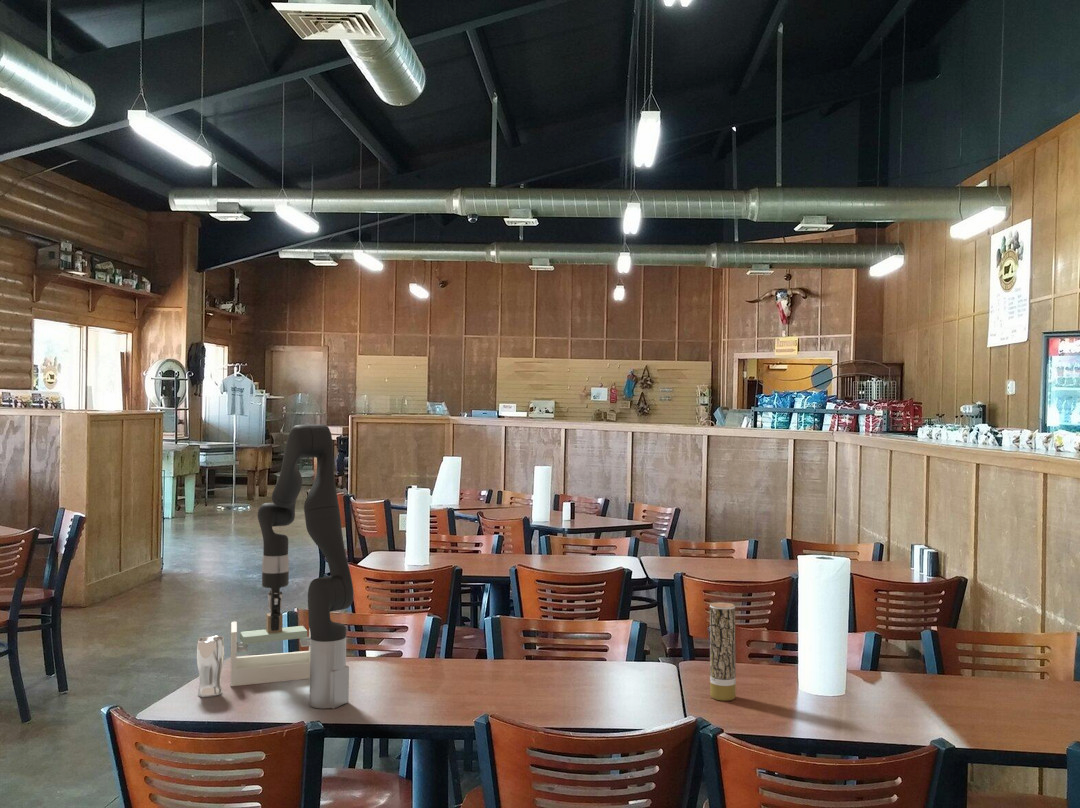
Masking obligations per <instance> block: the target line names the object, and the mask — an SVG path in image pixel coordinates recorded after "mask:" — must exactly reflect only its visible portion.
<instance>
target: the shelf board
mask: <svg viewBox="0 0 1080 808" xmlns="http://www.w3.org/2000/svg"><path fill="white" fill-rule="evenodd" d="M270 615H271V613H270V612H268V613H265V629H256V630H248V631H245V630H244V631H239V639H240V641H241V642H242V643H243V644H247V645H248V644H249V645H250V644H259V643H268V642H269V643H270V642H276V641H277V642H278V641H286V640H287V641H289V640H296V639H300V638H307V637H308V630H307V629H306V628H305V626H304V625H298V626H297V625H296V626H288V627H287V626H286V627H285V626H284V627H283V614H282V613H281V615H280V617H279V630H276V631H272V630H271V617H270Z"/></svg>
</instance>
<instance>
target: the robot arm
mask: <svg viewBox="0 0 1080 808" xmlns="http://www.w3.org/2000/svg"><path fill="white" fill-rule="evenodd" d="M332 436H333V435H332V432H331V429H330V428H329V426H328V425H326V424H323V423H322V424H319V423H317V424H316V423H315V424H314V423H313V424H309V423H308V424H297V425H294V426H292V427H291V429H290V431H289V434H288V436H287V439H286V443H285V448H284V453H283V456H282V457H283V458H282V463H281V469H280V472H279V475H278V479H277V481H276V483H275V486H274V488H273V491H272V493H271V501H272V502H265V503H262V504H261V505H260V506H259V508H258V510H257V519H258V523H259V527H260V531H261V535H262V540H263V552H262V553H263V557H262V565H261V568H262V569H261V572H262V573H261V586H262V587H263V588H265V589H270V590H269V591H268V592H267V599H268V609H269V613H271V615H270V617H271V630H272V631H276V630H279V617H280V615H281V614H282V613H281V609H282V606H283V605H282V600H283V592H282V591H280V589H281V588H286V587H287V586H289V583H290V581H289V575H290V574H289V573H290V572H289V571H290V562H289V561H290V560H289V537H288V535H286V534H284V533H276V532H274V529H273V527H285V526H289V525H291V524H292V523H294V520H295V518H296V505H297V504H296V502H297V499H298V497H299V494H300V493H301V490H302V488H303V487H302V486H303V477H302V474H301V472H300V470H299V467H298V461H299V460H300V459H301V458H302V459H304V458H305V459H307V458H309V459H310V458H316V463H317V464H316V465H317V467H316V469H317V470H316V475H315V479H314V481H313V484H312V486H311V488H310V490H309V491H308V494H307V495H306V498H305V501H304V505H303V512H304V518H305V519H304V520H305V521H304V522H305V526H306V531H307V533H308V535H309V537H310V538H311V540H312V541H313V542H314V544H315V545H316V546H317V547H318V548H319V550H320V551H321V553H322V554H323V556H324V557H325V559H326V562H327V565H328V569H329V574H330V575H329V576H321V577H316V578H314V579H312V580H311V582H310V583H309V586H308V589H307V612H308V614H307V615H308V630H309V629H310V634H311V639H310V679H309V706H310V707H312V708H315V709H336V708H338V707H340V706H342V705H345V704H347V703H349V700H350V699H349V694H350V693H349V691H350V689H349V688H350V686H349V685H350V682H349V681H350V666H349V665H347V627H346V625H344V624H343V623H340V622H335V621H332V620H331V612H336V611H341V610H346V609H349V608H351V606H352V604H353V601H354V585H353V580H352V576H351V572H350V566H349V563H348V559H347V554H346V550H345V543H344V537H343V535H344V534H343V529H342V517H341V511H340V504H339V500H338V493H337V486H336V478H335V466H334V465H335V463H334V446H333V445H334V444H333V438H332Z"/></svg>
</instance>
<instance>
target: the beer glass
mask: <svg viewBox="0 0 1080 808" xmlns="http://www.w3.org/2000/svg"><path fill="white" fill-rule="evenodd" d="M224 640H225V639H224V636H221V635H209V636H202V637H200V638H198V639H197V647H196V662H197V663H196V664H197V670H198V677H199V686H198V687H199V688H198V692H197V696H198V697H199V698H213V697H217V696H220V695H221V694H222V692H223V691H222V685H221V679H222V671H223V666H224V662H225V661H224V659H225V642H224Z"/></svg>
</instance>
